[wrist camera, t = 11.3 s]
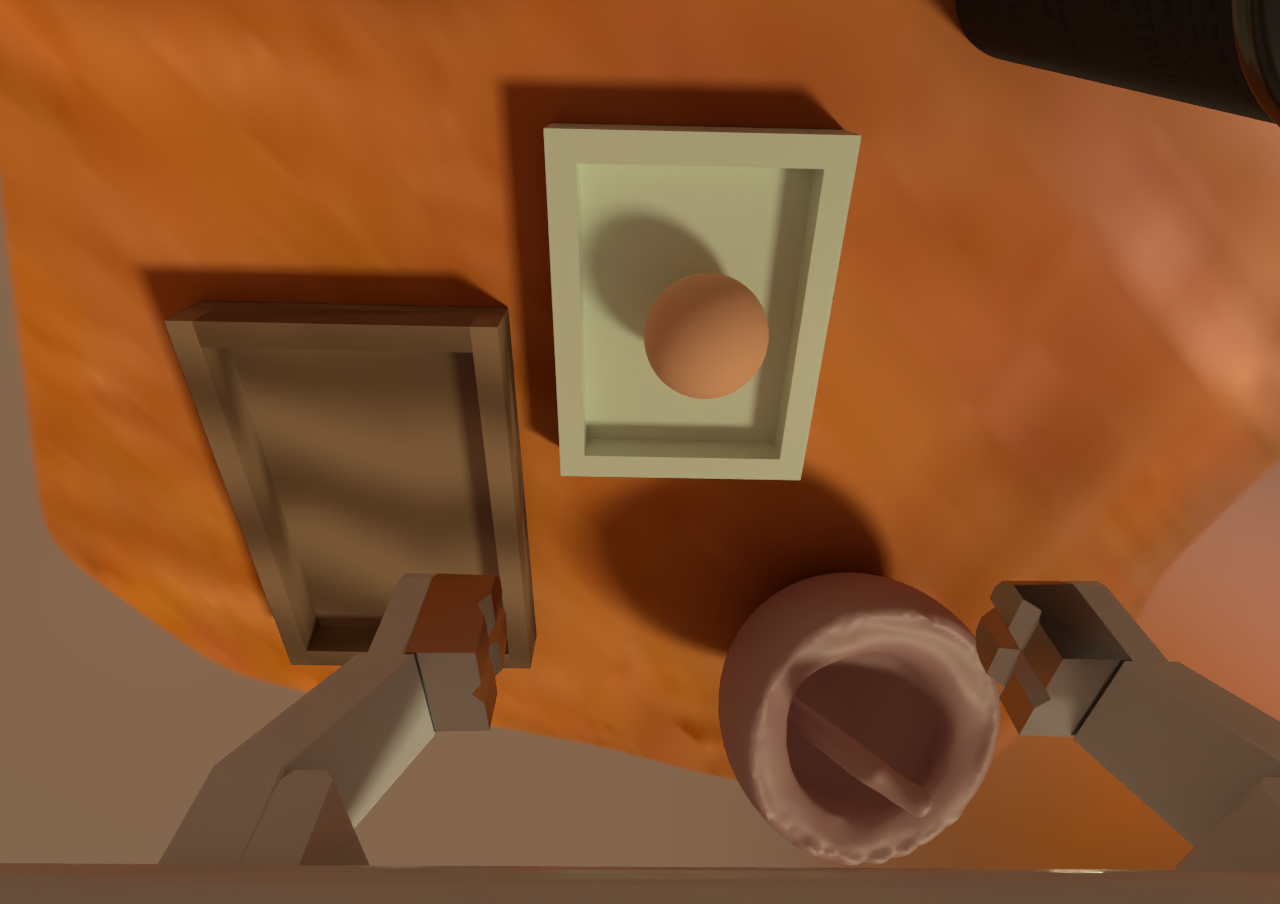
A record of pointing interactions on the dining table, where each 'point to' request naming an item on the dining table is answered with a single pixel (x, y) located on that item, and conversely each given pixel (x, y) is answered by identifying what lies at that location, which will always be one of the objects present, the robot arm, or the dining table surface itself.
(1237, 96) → the drinking cup
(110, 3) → the dining table surface
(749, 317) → the ball
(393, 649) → the robot arm
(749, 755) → the mortar and pestle
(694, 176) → the tray
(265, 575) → the dish
